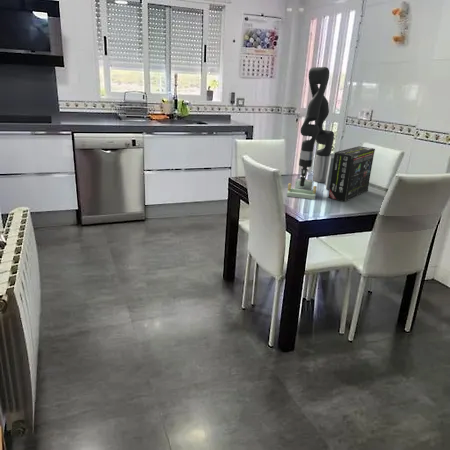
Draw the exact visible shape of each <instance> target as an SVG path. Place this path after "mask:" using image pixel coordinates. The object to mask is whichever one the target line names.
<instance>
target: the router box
mask: <svg viewBox="0 0 450 450" xmlns="http://www.w3.org/2000/svg"><path fill="white" fill-rule="evenodd" d="M375 151H376V148H372V147H366V146H359V145H358V146H355V147H351V148H347V149H344V150H343V149H342V150H338V151H335V152H334V153H333V154H334V161H333V168H332V175H331V182H330V189H328V198H330V199H331V200H332V199H333V200H336V201H342V202H344V203H346V202H348V201H349V200H351V199H354V198H356V197H358V196H360V195H361V194H364V193H366V192H368V191H369V185H370V179H371V173H372V167H373V162H374V161H373V160H374V157H375V156H374V155H375Z"/></svg>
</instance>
